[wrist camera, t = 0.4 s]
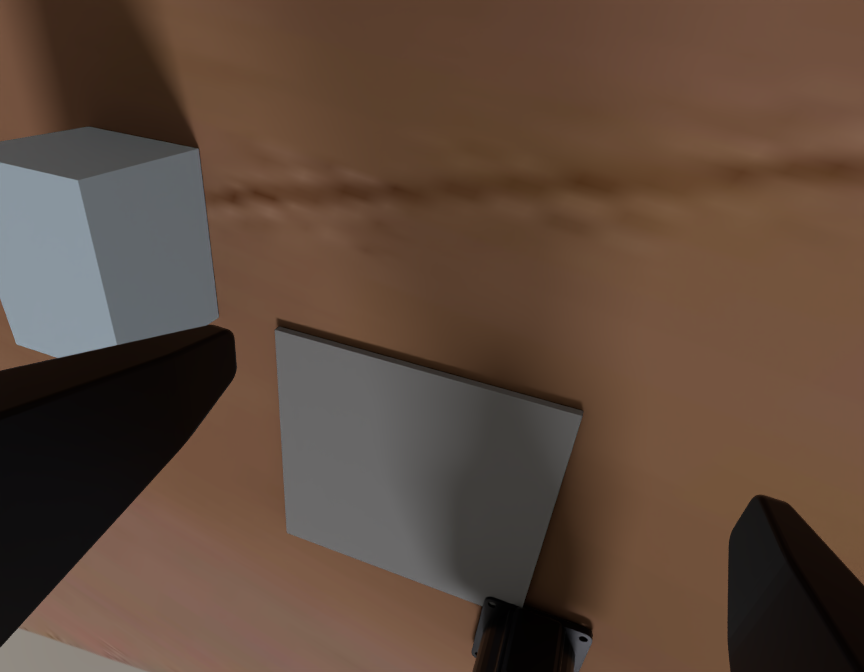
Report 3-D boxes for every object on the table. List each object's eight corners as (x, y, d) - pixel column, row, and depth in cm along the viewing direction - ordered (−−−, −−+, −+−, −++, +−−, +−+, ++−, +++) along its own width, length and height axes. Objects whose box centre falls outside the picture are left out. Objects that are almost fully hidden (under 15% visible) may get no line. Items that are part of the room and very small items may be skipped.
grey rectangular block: (218, 317, 30) (125, 380, 24) (124, 290, 31) (16, 344, 26) (198, 148, 25) (77, 180, 20) (88, 126, 27) (-52, 150, 21)
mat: (519, 614, 33) (518, 619, 33) (290, 528, 37) (286, 532, 37) (583, 411, 25) (582, 415, 25) (278, 326, 29) (274, 329, 28)
